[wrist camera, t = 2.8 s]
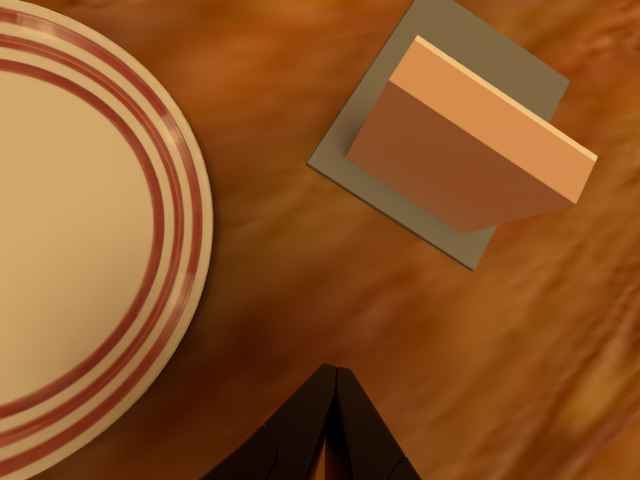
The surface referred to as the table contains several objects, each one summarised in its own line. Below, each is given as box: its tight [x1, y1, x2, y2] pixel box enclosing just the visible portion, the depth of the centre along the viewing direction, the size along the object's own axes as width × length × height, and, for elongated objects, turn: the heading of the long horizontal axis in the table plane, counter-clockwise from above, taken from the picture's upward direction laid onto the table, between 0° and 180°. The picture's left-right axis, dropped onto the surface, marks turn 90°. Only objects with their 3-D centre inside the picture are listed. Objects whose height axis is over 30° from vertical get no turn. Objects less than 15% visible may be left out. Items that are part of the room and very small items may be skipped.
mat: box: [307, 0, 570, 271], centre depth 25 cm, size 18×14×1 cm
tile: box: [345, 35, 597, 234], centre depth 19 cm, size 3×10×9 cm, turn 59°
